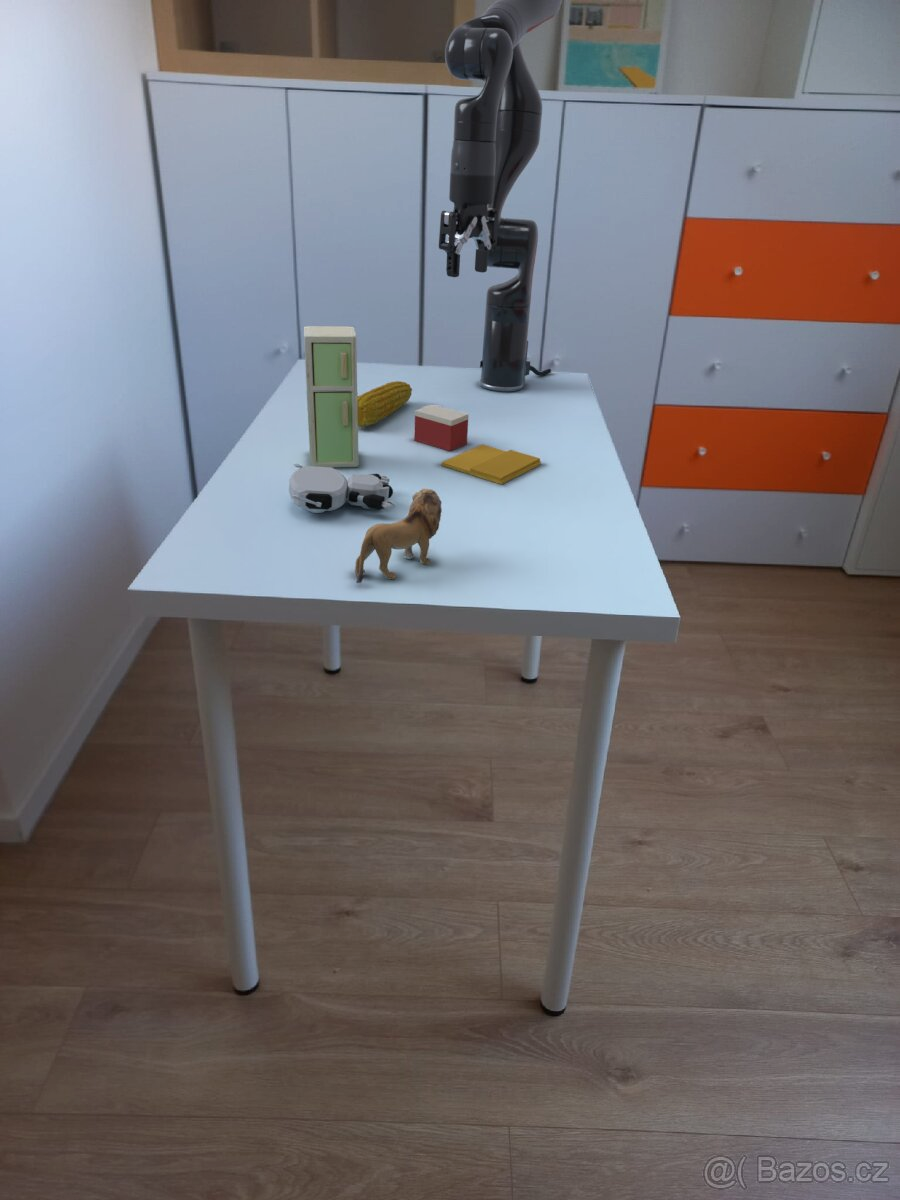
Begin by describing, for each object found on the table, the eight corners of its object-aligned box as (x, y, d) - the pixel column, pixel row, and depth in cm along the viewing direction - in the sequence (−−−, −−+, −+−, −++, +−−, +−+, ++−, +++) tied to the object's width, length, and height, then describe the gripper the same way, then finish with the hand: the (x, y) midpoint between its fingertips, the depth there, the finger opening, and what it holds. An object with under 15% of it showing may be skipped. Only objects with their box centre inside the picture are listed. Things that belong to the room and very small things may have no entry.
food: (372, 433, 149) (372, 401, 146) (344, 428, 151) (344, 396, 148) (417, 403, 167) (418, 373, 164) (391, 398, 168) (391, 369, 165)
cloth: (482, 447, 146) (482, 441, 145) (540, 464, 140) (541, 458, 139) (441, 465, 137) (441, 459, 137) (501, 484, 131) (502, 478, 131)
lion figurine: (418, 542, 112) (420, 480, 108) (449, 554, 110) (453, 491, 105) (342, 580, 102) (341, 513, 98) (374, 595, 99) (374, 527, 95)
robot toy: (388, 493, 128) (289, 487, 126) (390, 465, 126) (290, 459, 123) (394, 527, 118) (287, 521, 115) (397, 497, 116) (288, 491, 113)
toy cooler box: (466, 444, 147) (468, 413, 144) (450, 451, 143) (451, 420, 141) (431, 433, 151) (432, 404, 148) (414, 440, 147) (414, 410, 145)
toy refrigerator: (309, 470, 133) (303, 336, 122) (308, 454, 139) (303, 325, 128) (359, 469, 134) (358, 337, 123) (356, 453, 140) (355, 326, 130)
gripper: (466, 174, 132) (460, 281, 140) (514, 172, 142) (506, 273, 150) (429, 170, 136) (425, 275, 144) (478, 169, 146) (472, 267, 154)
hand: (467, 274), depth 147 cm, fingers open, 8 cm apart
